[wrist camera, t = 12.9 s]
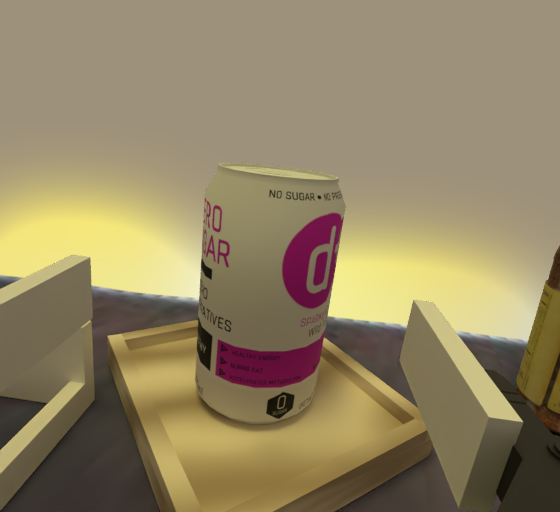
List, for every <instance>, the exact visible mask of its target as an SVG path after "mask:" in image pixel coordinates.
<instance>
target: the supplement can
mask: <svg viewBox="0 0 560 512" xmlns="http://www.w3.org/2000/svg"><path fill="white" fill-rule="evenodd" d="M338 180H339V178H338V177H336V176H333V175H329V174H324V173H320V172H314V171H308V170H302V169H295V168H287V167H279V166H270V165H261V164H247V163H220V164H218V171H217V172H216V174H215V175H214V177H213V179H212V180H211V182H210V184H209V185H208V187H207V189H206V190H205V204H204V225H203V241H202V242H203V243H202V261H201V279H200V297H199V316H198V334H197V353H196V371H195V382H196V387H197V391H198V394H199V395H200V396H201V398H202V399H203V400H204V401H205V402H206V403H207V404H208V405H209V407H211V408H213V409H214V410H215V411H216V412H218V413H220V414H221V415H223V416H225V417H227V418H229V419H231V420H233V421H238V422H242V423H247V424H251V425H253V424H272V423H275V422H278V421H282V420H285V419H288V418H289V417H291V416H293V415H296V414H297V413H299V412H300V411H301V410H303V409H304V408H305V407H306V406H308V405H309V404H310V402H311V399H312V397H313V395H314V392H315V388H316V382H317V376H318V370H319V364H320V358H321V352H322V346H323V340H324V333H325V327H326V321H327V315H328V309H329V303H330V297H331V291H332V285H333V279H334V273H335V267H336V261H337V254H338V248H339V243H340V236H341V230H342V223H343V218H344V211H345V203H344V201H343V198H342V194H341V192H340V189H339V185H338Z"/></svg>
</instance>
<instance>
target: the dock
mask: <svg viewBox="0 0 560 512" xmlns="http://www.w3.org/2000/svg"><path fill="white" fill-rule="evenodd" d="M0 396H4V397H10V398H17V399H23V400H29V401H36V402H42V403H48V404H47V405H46V406H45V407H44V408H43V409H42V410H41V411H40V412H39V413H38V414H37V415H36V416H35V417H34V418H33V419H32V420H30V421H29V422H28V423H27V424H26V425H25V426H24V427H23V428H22V429H21V430H20V431H19V432H18V433H17V434H16V435H15V436H14V437H13V438H12V439H11V440H10V441H9V442H8V443H7V444H6V445H5V446H4V447H3V448H2V449H1V450H0V511H1V510H2V509H3V507H4V506H5V505H6V504H7V503H8V501H9V500H10V499H11V498H12V497H13V496H14V494H15V493H16V492H17V491H18V490H19V489H20V487H21V486H22V485H23V484H24V483H25V481H26V480H27V479H28V478H29V477H30V476H31V474H32V473H33V472H34V471H35V470H36V468H37V467H38V466H39V465H40V464H41V463H42V461H43V460H44V459H45V458H46V457H47V455H48V454H49V453H50V452H51V451H52V450H53V448H54V447H55V446H56V445H57V444H58V442H59V441H60V440H61V439H62V438H63V437H64V435H65V434H66V433H67V432H68V431H69V429H70V428H71V427H72V426H73V425H74V424H75V422H76V421H77V420H78V419H79V418H80V416H81V415H82V414H83V413H84V412H85V411H86V409H87V408H88V407H89V406H90V405H91V403H92V402H93V401H94V400H95V392H94V369H93V346H92V323H91V321H88V322H87V323H86V324H85V325H83V326H82V327H81V328H80V329H79V330H77V331H76V332H75V333H74V334H72V335H71V336H70V337H69V338H67V339H66V340H65V341H64V342H63V343H61V344H60V345H59V346H58V347H56V348H55V349H54V350H53V351H51V352H50V353H49V354H48V355H47V356H45V357H44V358H43V359H42V360H40V361H39V362H38V363H37V364H35V365H34V366H33V367H32V368H30V369H29V370H28V371H27V372H26V373H24V374H23V375H22V376H21V377H19V378H18V379H17V380H16V381H14V382H13V383H12V384H11V385H10V386H8V387H7V388H6V389H5V390H3V391H2V392H1V393H0Z"/></svg>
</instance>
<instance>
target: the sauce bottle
mask: <svg viewBox="0 0 560 512" xmlns="http://www.w3.org/2000/svg"><path fill="white" fill-rule="evenodd" d="M516 381H517V389H516V390H517V392H518V393H519V395H520V396H521V397H522V398H523V399H524V400H525V401H526V403H527V405H529V406H530V408H531V409H532V410H533V411H534V412H535V414H536V415H537V416H538V417H539V418H540V420H541V421H542V422H543V423H544V425H545V426H546V427H547V428H548V429H549V430H551V431H553V432H555V433H558V434H560V246H559V248H558V250H557V252H556V254H555V256H554V261H553V265H552V268H551V271H550V275H549V279H548V280H547V281H546V283H545V286H544V289H543V293H542V296H541V300H540V303H539V307H538V310H537V314H536V317H535V320H534V324H533V327H532V330H531V334H530V337H529V340H528V344H527V347H526V350H525V353H524V357H523V360H522V363H521V366H520V370H519V373H518V376H517V379H516Z"/></svg>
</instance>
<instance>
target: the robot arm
mask: <svg viewBox="0 0 560 512" xmlns="http://www.w3.org/2000/svg"><path fill="white" fill-rule="evenodd" d="M92 318H93V312H92V288H91V265H90V257H85V256H77V255H71V256H69V257H66V258H64V259H62V260H60V261H58V262H56V263H54V264H52V265H50V266H48V267H45V268H43V269H41V270H39V271H37V272H35V273H33V274H31V275H29V276H27V277H25V278H22V279H20V280H18V281H16V282H14V283H12V284H10V285H8V286H6V287H4V288H2V289H0V393H1V392H2V391H3V390H5V389H6V388H7V387H8V386H10V385H11V384H12V383H13V382H14V381H16V380H17V379H18V378H19V377H21V376H22V375H23V374H24V373H26V372H27V371H28V370H29V369H30V368H32V367H33V366H34V365H35V364H37V363H38V362H39V361H40V360H42V359H43V358H44V357H45V356H47V355H48V354H49V353H50V352H51V351H53V350H54V349H55V348H56V347H58V346H59V345H60V344H61V343H63V342H64V341H65V340H66V339H67V338H69V337H70V336H71V335H72V334H74V333H75V332H76V331H77V330H79V329H80V328H81V327H82V326H83V325H85V324H86V323H87V322H88V321H90V320H91V319H92ZM399 361H400V363H401V366H402V368H403V371H404V373H405V376H406V378H407V381H408V383H409V386H410V388H411V391H412V393H413V396H414V398H415V401H416V403H417V406H418V408H419V411H420V413H421V416H422V418H423V421H424V423H425V426H426V428H427V431H428V433H429V436H430V438H431V441H432V443H433V446H434V448H435V451H436V453H437V456H438V458H439V461H440V463H441V466H442V468H443V471H444V473H445V476H446V478H447V481H448V483H449V486H450V488H451V491H452V493H453V496H454V498H455V501H456V503H457V506H458V508H459V509H466V510H472V511H478V512H491V509H492V506H493V504H494V501H495V498H496V495H498V497H499V499H500V501H501V505H500V507H499V509H498V511H497V512H560V436H557V435H553V434H552V433H551V432H550V431H549V429H548V428H547V427H546V426H545V425H544V423H543V422H542V421H541V420H540V418H539V417H538V416H537V415H536V414H535V412H534V411H533V410H532V409H531V408H530V406H529V405H527V403H526V401H525V400H524V399H523V398H522V397H521V396H520V395H519V393H518V392H517V390H516V389H515V388H514V387H513V386H512V384H511V383H510V382H509V381H508V380H506V379H505V378H504V377H502V376H501V375H500V374H498V373H497V372H495V371H493V370H486V369H483V368H482V366H481V365H480V364H479V362H478V361H477V360H476V358H475V357H474V356H473V354H472V353H471V352H470V350H469V349H468V348H467V347H466V345H465V344H464V343H463V341H462V340H461V339H460V337H459V336H458V335H457V333H456V332H455V331H454V329H453V328H452V327H451V325H450V324H449V323H448V321H447V320H446V319H445V317H444V316H443V315H442V313H441V312H440V311H439V309H438V308H437V307H436V305H435V304H434V303H433V302H427V301H419V300H414V301H413V304H412V309H411V313H410V317H409V321H408V325H407V330H406V334H405V338H404V343H403V347H402V351H401V355H400V360H399Z"/></svg>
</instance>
